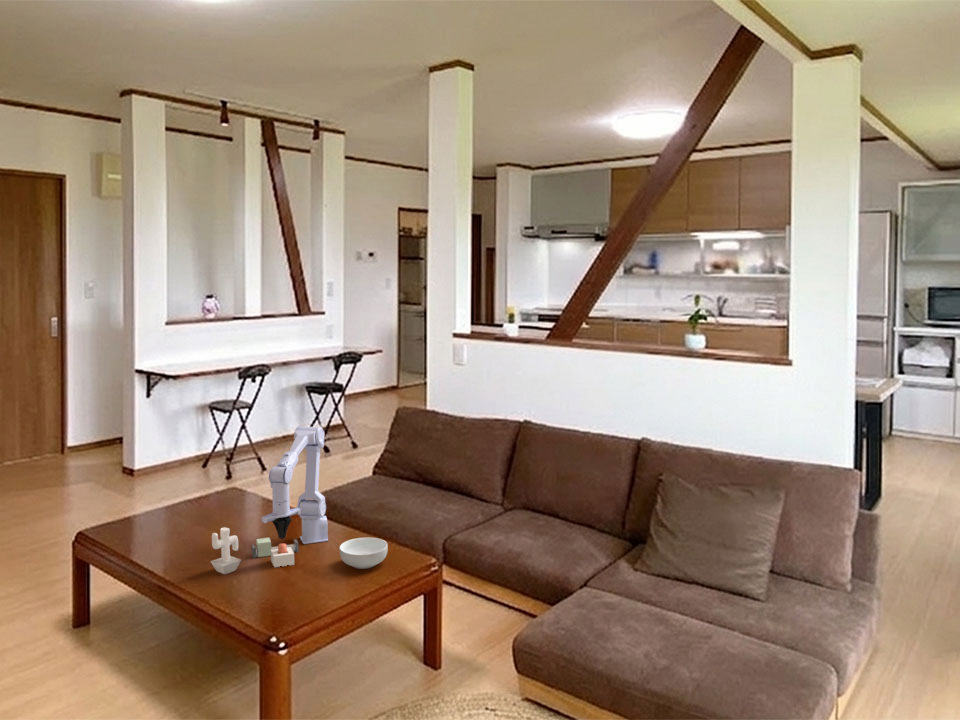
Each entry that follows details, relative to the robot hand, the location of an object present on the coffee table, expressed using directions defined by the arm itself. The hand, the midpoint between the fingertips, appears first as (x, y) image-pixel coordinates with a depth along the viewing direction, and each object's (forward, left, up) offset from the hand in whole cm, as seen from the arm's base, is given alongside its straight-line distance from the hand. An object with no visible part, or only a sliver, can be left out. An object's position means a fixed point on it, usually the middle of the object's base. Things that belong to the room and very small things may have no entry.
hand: (282, 538), depth 273 cm
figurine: (+19, 0, -9) cm, 21 cm away
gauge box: (0, 0, -9) cm, 9 cm away
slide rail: (+1, -11, -9) cm, 14 cm away
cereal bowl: (-26, +12, -9) cm, 30 cm away
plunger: (0, 0, -7) cm, 7 cm away
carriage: (+5, -11, -9) cm, 15 cm away
